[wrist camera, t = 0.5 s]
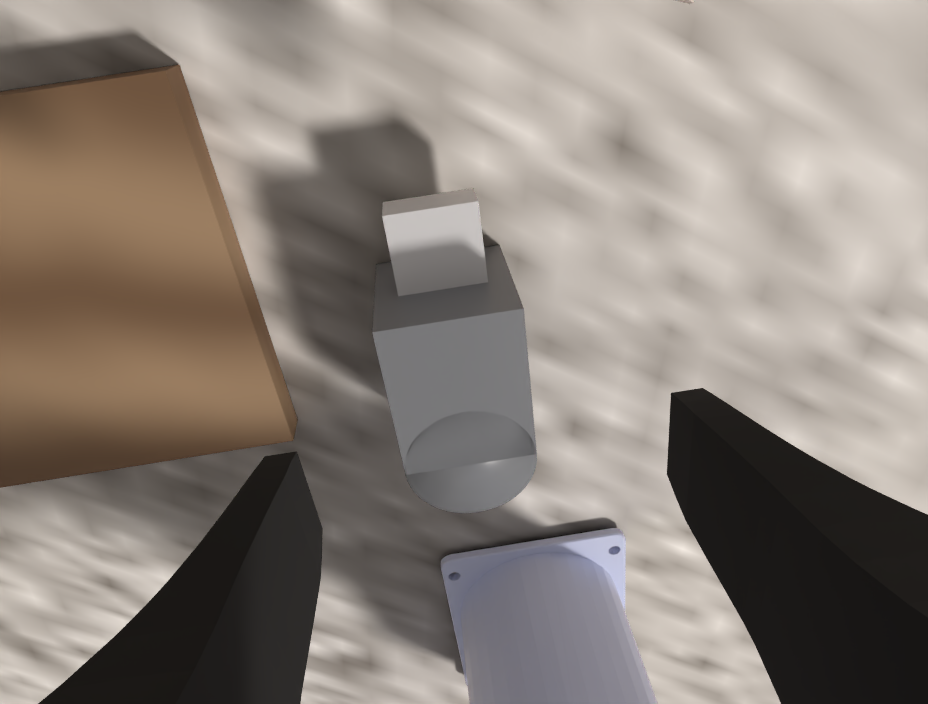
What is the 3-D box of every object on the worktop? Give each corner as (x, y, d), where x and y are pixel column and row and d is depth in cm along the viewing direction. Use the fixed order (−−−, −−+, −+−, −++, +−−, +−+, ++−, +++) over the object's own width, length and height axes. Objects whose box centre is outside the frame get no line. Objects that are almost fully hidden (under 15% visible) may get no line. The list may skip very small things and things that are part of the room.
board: (297, 419, 23) (293, 440, 22) (-31, 472, 23) (-51, 495, 22) (179, 64, 17) (165, 70, 16) (-273, 133, 17) (-316, 143, 16)
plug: (517, 417, 24) (540, 502, 20) (413, 434, 24) (416, 522, 20) (491, 170, 19) (515, 221, 15) (360, 191, 19) (351, 246, 15)
